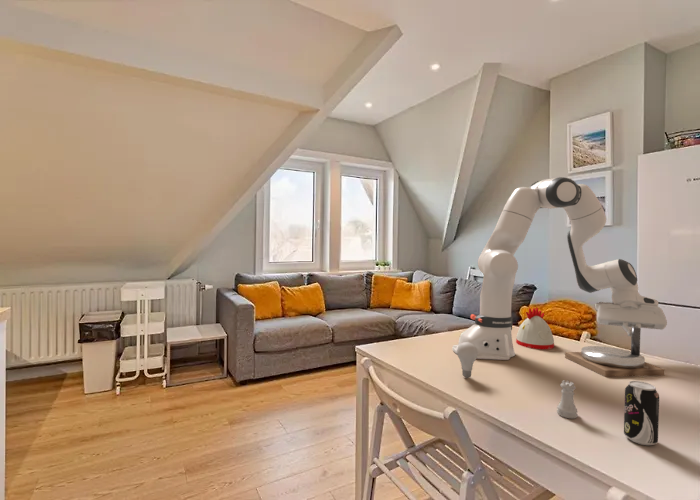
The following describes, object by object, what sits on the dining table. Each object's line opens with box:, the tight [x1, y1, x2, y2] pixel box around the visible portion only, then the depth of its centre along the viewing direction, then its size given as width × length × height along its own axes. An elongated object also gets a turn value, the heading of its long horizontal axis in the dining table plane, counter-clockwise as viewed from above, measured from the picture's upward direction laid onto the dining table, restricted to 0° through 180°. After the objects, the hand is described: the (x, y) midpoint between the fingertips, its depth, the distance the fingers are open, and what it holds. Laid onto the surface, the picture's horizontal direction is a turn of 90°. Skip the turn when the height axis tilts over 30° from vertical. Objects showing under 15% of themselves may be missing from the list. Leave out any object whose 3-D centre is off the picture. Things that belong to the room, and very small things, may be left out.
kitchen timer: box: [515, 307, 555, 350], centre depth 152 cm, size 14×14×15 cm
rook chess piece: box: [556, 380, 579, 420], centre depth 90 cm, size 4×4×8 cm
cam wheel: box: [580, 327, 646, 368], centre depth 126 cm, size 19×18×11 cm
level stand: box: [564, 351, 666, 378], centre depth 126 cm, size 20×19×2 cm
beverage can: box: [623, 380, 660, 447], centre depth 79 cm, size 6×6×12 cm
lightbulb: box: [456, 342, 478, 379], centre depth 114 cm, size 6×6×11 cm
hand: (633, 335), depth 130 cm, fingers closed
